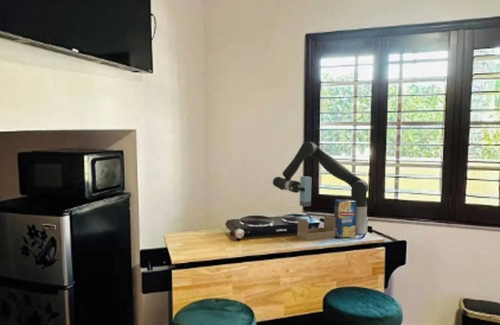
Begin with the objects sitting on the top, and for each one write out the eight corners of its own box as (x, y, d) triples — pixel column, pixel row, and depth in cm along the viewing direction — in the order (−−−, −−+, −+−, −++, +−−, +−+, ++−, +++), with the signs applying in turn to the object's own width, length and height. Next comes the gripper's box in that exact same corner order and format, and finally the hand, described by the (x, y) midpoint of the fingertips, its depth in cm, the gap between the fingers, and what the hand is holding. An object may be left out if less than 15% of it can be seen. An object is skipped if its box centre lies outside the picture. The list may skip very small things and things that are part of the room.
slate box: (306, 204, 238) (307, 176, 237) (310, 206, 234) (311, 177, 232) (299, 205, 236) (300, 176, 235) (304, 206, 231) (304, 177, 230)
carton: (324, 234, 234) (324, 215, 233) (334, 238, 225) (335, 218, 224) (297, 237, 225) (297, 217, 224) (307, 241, 216) (307, 221, 215)
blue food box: (355, 237, 228) (356, 201, 226) (338, 238, 226) (339, 201, 224) (350, 234, 234) (351, 199, 233) (333, 235, 232) (334, 199, 231)
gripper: (283, 180, 243) (298, 184, 228) (302, 180, 250) (317, 183, 235) (283, 192, 244) (298, 196, 229) (302, 191, 250) (317, 195, 235)
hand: (308, 189), depth 232 cm, fingers closed on slate box, 5 cm apart
